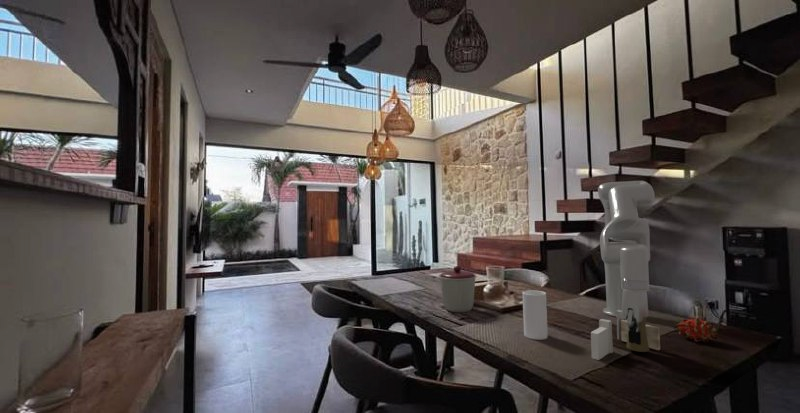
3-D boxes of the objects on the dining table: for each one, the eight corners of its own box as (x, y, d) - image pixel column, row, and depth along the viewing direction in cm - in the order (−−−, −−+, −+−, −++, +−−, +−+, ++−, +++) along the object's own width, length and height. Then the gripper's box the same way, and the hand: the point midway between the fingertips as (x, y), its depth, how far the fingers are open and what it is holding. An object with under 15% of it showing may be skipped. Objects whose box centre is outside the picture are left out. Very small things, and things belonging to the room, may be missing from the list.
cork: (653, 352, 107) (651, 317, 107) (631, 351, 108) (630, 316, 108) (643, 344, 113) (641, 311, 113) (623, 344, 114) (621, 310, 114)
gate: (618, 339, 120) (617, 319, 120) (621, 338, 121) (620, 318, 121) (658, 350, 110) (657, 328, 110) (661, 348, 111) (660, 326, 111)
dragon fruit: (724, 350, 114) (678, 347, 121) (718, 329, 119) (675, 327, 127) (720, 333, 110) (673, 331, 118) (714, 312, 116) (670, 312, 124)
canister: (450, 303, 177) (449, 262, 178) (483, 307, 167) (482, 264, 167) (432, 311, 163) (431, 267, 163) (468, 317, 152) (466, 269, 152)
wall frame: (625, 333, 127) (624, 306, 127) (634, 335, 124) (633, 308, 124) (590, 357, 107) (588, 325, 107) (600, 360, 105) (599, 327, 105)
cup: (529, 330, 133) (528, 289, 134) (551, 335, 127) (549, 292, 128) (520, 336, 127) (518, 292, 128) (542, 341, 122) (540, 296, 122)
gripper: (630, 279, 119) (632, 332, 118) (612, 287, 108) (614, 345, 108) (656, 282, 113) (659, 338, 113) (639, 290, 102) (642, 352, 102)
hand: (637, 340), depth 110 cm, fingers closed on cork, 4 cm apart
